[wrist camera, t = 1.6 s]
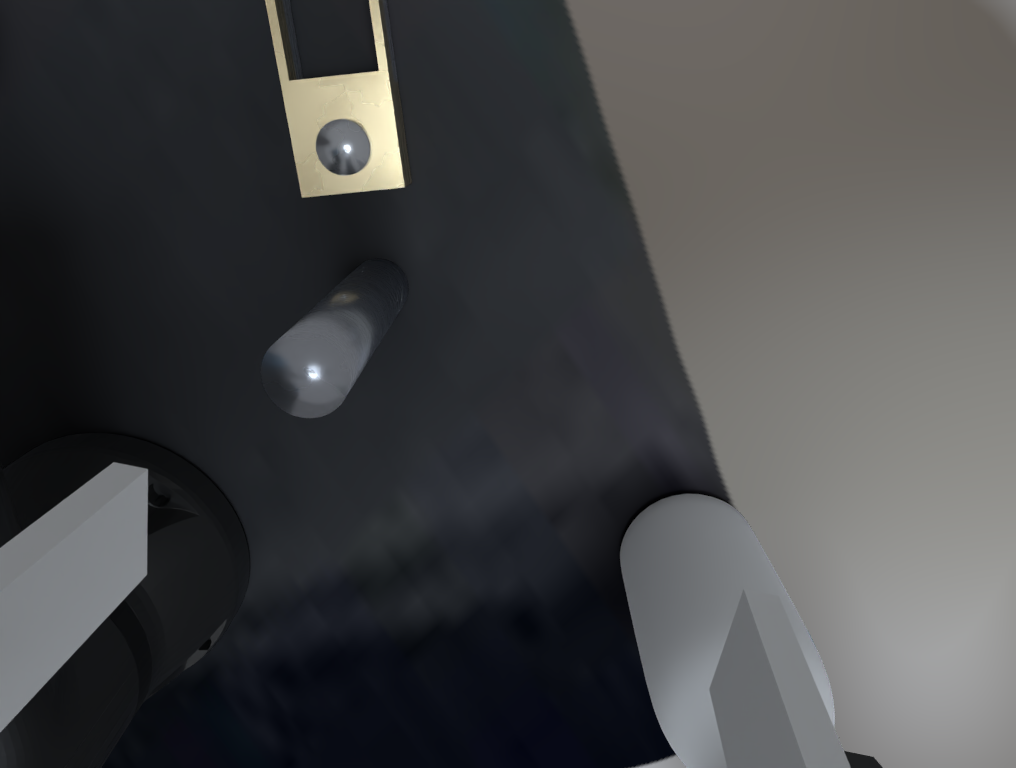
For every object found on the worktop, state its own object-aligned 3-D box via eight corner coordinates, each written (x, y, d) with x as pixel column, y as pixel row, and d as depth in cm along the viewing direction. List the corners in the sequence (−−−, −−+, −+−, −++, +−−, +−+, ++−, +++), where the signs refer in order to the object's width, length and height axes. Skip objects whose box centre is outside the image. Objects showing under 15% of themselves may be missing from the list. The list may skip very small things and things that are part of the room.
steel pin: (355, 318, 39) (270, 421, 26) (345, 261, 38) (252, 338, 25) (412, 313, 39) (356, 414, 26) (404, 255, 38) (341, 330, 25)
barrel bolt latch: (315, 192, 37) (298, 199, 34) (255, -140, 32) (230, -165, 30) (412, 182, 37) (402, 188, 34) (365, -154, 32) (350, -180, 29)
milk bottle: (590, 554, 44) (641, 887, 25) (684, 463, 42) (819, 750, 23) (685, 627, 45) (801, 992, 26) (781, 542, 43) (981, 873, 24)
